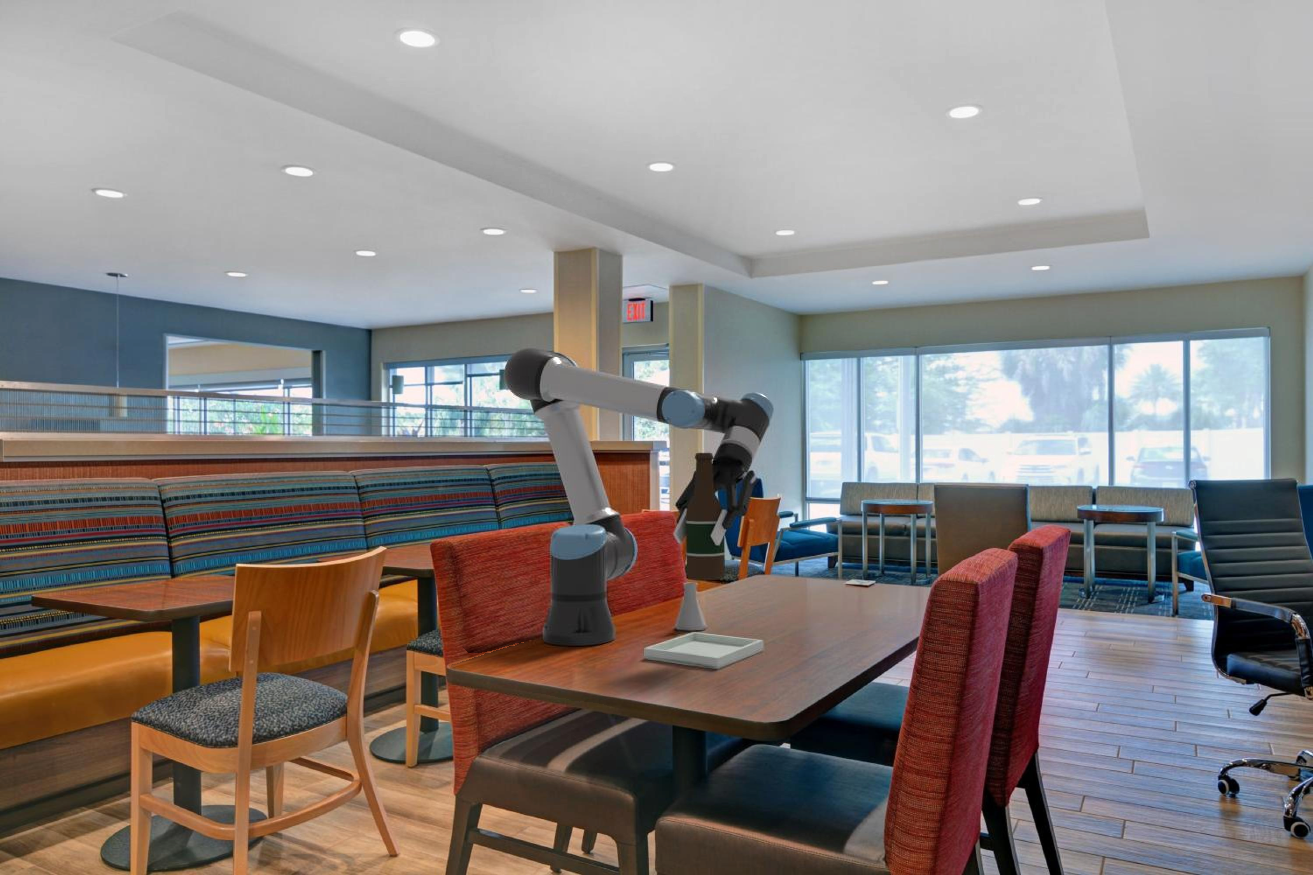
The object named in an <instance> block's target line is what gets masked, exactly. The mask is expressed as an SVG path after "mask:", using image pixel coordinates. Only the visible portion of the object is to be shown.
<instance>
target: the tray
mask: <svg viewBox="0 0 1313 875" xmlns="http://www.w3.org/2000/svg"><path fill="white" fill-rule="evenodd" d="M764 644H765V642H764V639H757V638H748V637H738V636H730V635H722V634H721V635H720V634H714V633H713V634H712V633H705V632H698V631H697V632H696V631H691V632H690V633H686V634H684V635H680V636H677V637H675V638H670V639H668V640H665V641H662V642H659V643H656V644H653V645H650V646H647V647H644V648H643V659H644V660H650V661H657V662H664V663H671V664H679V665H686V666H693V667H698V668H707V669H714V670H720V669H722V668H725V667H727V666H729V665H732V664H734V663H737V662H739V661H742V660H744V659H746V658H749V657H751V656H753V655H754V656H755V655H757V654H759V653H761V652H764V651H765V650H764V649H765V646H764Z"/></svg>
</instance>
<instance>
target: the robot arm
mask: <svg viewBox="0 0 1313 875" xmlns="http://www.w3.org/2000/svg"><path fill="white" fill-rule="evenodd" d="M578 365H579V364H577V363H576V362H575V360H573V359H571V358H570V357H569V356H566V355H565V354H562V353H561V352H560V353H559V352H553V351H546V350H542V349H539V348H535V347H534V348H533V347H528V348H522V349H520V350H517V351H515V352H514V353H513V354H512V355H510V357H509V358H508V360H507V361H506V364H505V367H504V370H503V375H504V376H503V378H504V382H505V384H506V387H507V388H508V389H509V392H511V393H512V394H513V396H515V397H517V398H519V399H521V400H525V401H529V403H530V405H531V409H532V411H533V415H534V417H536V418H537V419H539V420H540V421H542V422H543V424H544V427H545V431H546V433H547V437H548V440H549V444H550V447H551V449H552V452H553V456H554V460H555V464H556V465H557V468H558V472H559V475H560V478H561V482H562V484H563V487H564V491H565V494H566V497H567V500H568V504H569V506H570V510H571V513H572V516H573V519H574V520H573V523H572V525H568V526H563V527H561V528H557V529H556V530H554V531H553V533H552V534H551V537H550V546H549V554H550V557H549V558H550V605H549V608H548V610H547V614H546V618H545V623H544V626H543V628H542V641H543V642H545V643H547V644H551V645H556V646H565V647H569V646H571V647H575V646H576V647H581V646H595V645H601V644H606V643H609V642H611V641H613V640H615V639H616V626H615V624H614V623H613V619H612V614H611V611H610V608H609V605H608V601H607V600H608V599H607V581H608V582H609V581H613V580H615V579H618V578H620V577H622V576H624V575H625V574H627V573H628V572H629V571H630V570H631V569H632V568H633V566H634V565H635V562H636V560H637V556H638V544H637V540H636V538H635V536H634V534H633V533H632V532H631V531H630V530H629V529H628V528H626V527H625V526H624V523H623V521H622V518H621V514H620V513H619V512H618V511H616V510H614V509H612V508H611V505H610V502H609V498H608V495H607V492H606V489H605V487H604V484H603V480H602V478H601V475H600V474H601V473H600V471H599V467H598V466H597V461H596V458H595V455H594V452H593V449H592V447H591V442H590V440H589V437H588V435H587V434H588V433H587V431H586V428H585V424H584V421H583V419H582V415H581V412H580V408H581V406H582V405H583V406H588V407H591V408H592V407H593V408H597V409H601V410H606V411H610V412H613V413H618V414H622V415H627V416H631V417H637V418H639V419H644V420H645V419H646V420H649V421H654V422H659V423H662V424H665V425H670V426H673V427H674V428H677V429H682V430H683V429H685V430H686V429H691V430H693V429H694V430H704V431H709V432H715V433H720V434H723V437H722V438H721V440H720V443H719V446H718V447H717V450H716V452H715V454H714V455H713V459H712V469H713V483H714V490H715V494H716V493H718V491H726V505H725V508H726V509H723V510H722V512H721V514H720V516H719V518H718V521H717V523H716V525H715V527H714V529H713V532H712V534H711V537H712V539H713V541H714V543H715V544H716V545H720V543H721V541H722V538H723V536H724V537H725V534H726V532H727V531H729V530H730V529H731V528H732V525H733V523H734V521H735V519H737V517H738V516H741V517H745V516H746V515H747V514H748V513H747V512H748V510H749V506H750V501H751V497H752V494H753V490H754V487H755V486H756V484H757V483H758V478H757V476H756V473H755V471H754V470H752V469H751V470H750V468H751V466H752V463H753V460H754V458H755V456H756V454H757V452H758V450H759V447H760V445H761V443H762V440H763V439H764V437H765V434H766V432H767V430H768V428H769V426H770V425H771V420H772V417H773V414H774V405H773V403H772V401H771V400H770V399H769V398H768V397H767V396H766V395H764V394H762V393H760V392H754V391H753V392H748V393H745V394H744V395H743V396H742V397H741V398H740V399H739V400H737V399H728V398H724V397H720V396H716V395H711V394H706V393H703V392H697V391H696V392H695V391H691V390H689V389H688V390H687V389H684V388H676V387H673V386H672V387H671V386H669V385H668V386H667V385H663V384H658V383H653V382H648V381H644V380H641V379H636V378H630V377H626V376H621V375H616V374H613V373H612V374H611V373H608V372H602V371H599V370H594V369H589V368H584V367H580V366H578ZM695 479H696V470H694V471H693V475H692V478H691V480H690V481H689V483H688V484H687V485H686V487H685V489H684V491H683V492H682V493H681V495H680V496H679V498H678V499H677V501H676V502H675V504H674V505H675V507H676V509H677V511H678V512H679V515H678V517H677V519H676V524H677V525H676V527H675V529H674V531H673V537H674V538H675V540H676V541H677V543H678V544H683V542H684V540H685V539H686V511H687V507H688V504H689V502H690V500H691V499H692V497H693V495H694V491H695ZM740 483H741V487H740V490H739V493H738V485H739V484H740ZM737 494H739V495H738V499H737Z"/></svg>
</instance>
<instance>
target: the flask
mask: <svg viewBox="0 0 1313 875" xmlns="http://www.w3.org/2000/svg"><path fill="white" fill-rule="evenodd" d="M682 585H683V588H684V594H683V599H682V604H681V607H680V611H679V613H678V616H677V618H676V622H675V625H674V628H675V629H676V630H678V631H687V632H688V631H691V632H694V631H703V630H705V629H708V626H707V624H706V620H705V617H704V615H703V611H702V609H701V606H700V603H699V599H698V593H697V587H698V583H697V582H683V583H682Z"/></svg>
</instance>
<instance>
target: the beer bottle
mask: <svg viewBox="0 0 1313 875" xmlns="http://www.w3.org/2000/svg"><path fill="white" fill-rule="evenodd" d="M694 455H695V456H694V459H695V471H696V479H695V491H694V495H693V497H692V499H691V500H690V502H689V504H688V507H687V511H686V535H685V540H686V541H685V543H686V544H685V545H686V547H685V551H686V555H685V556H686V576H687V578H688V579H689V580H695V581H697V580H698V581H714V580H721V579H724V578H725V576H726V575H725V574H726V573H725V571H726V570H725V569H726V563H725V562H726V561H725V560H726V557H725V552H726V549H725V546H726V545H725V535H724V536H723V538H722V541H721V543H720V545H716V544H715V543H714V541H713V539H712V537H711V534H712V532H713V529H714V527H715V525H716V523H717V521H718V518H719V516H720V514H721V512H722V510H724V509H723V506H722V504H721V501H720V500H719V498H718V497H717V495H716V493H715V490H714V483H713V469H712V462H713V458H714V455H713V453H712V452H696V453H695V454H694Z"/></svg>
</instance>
